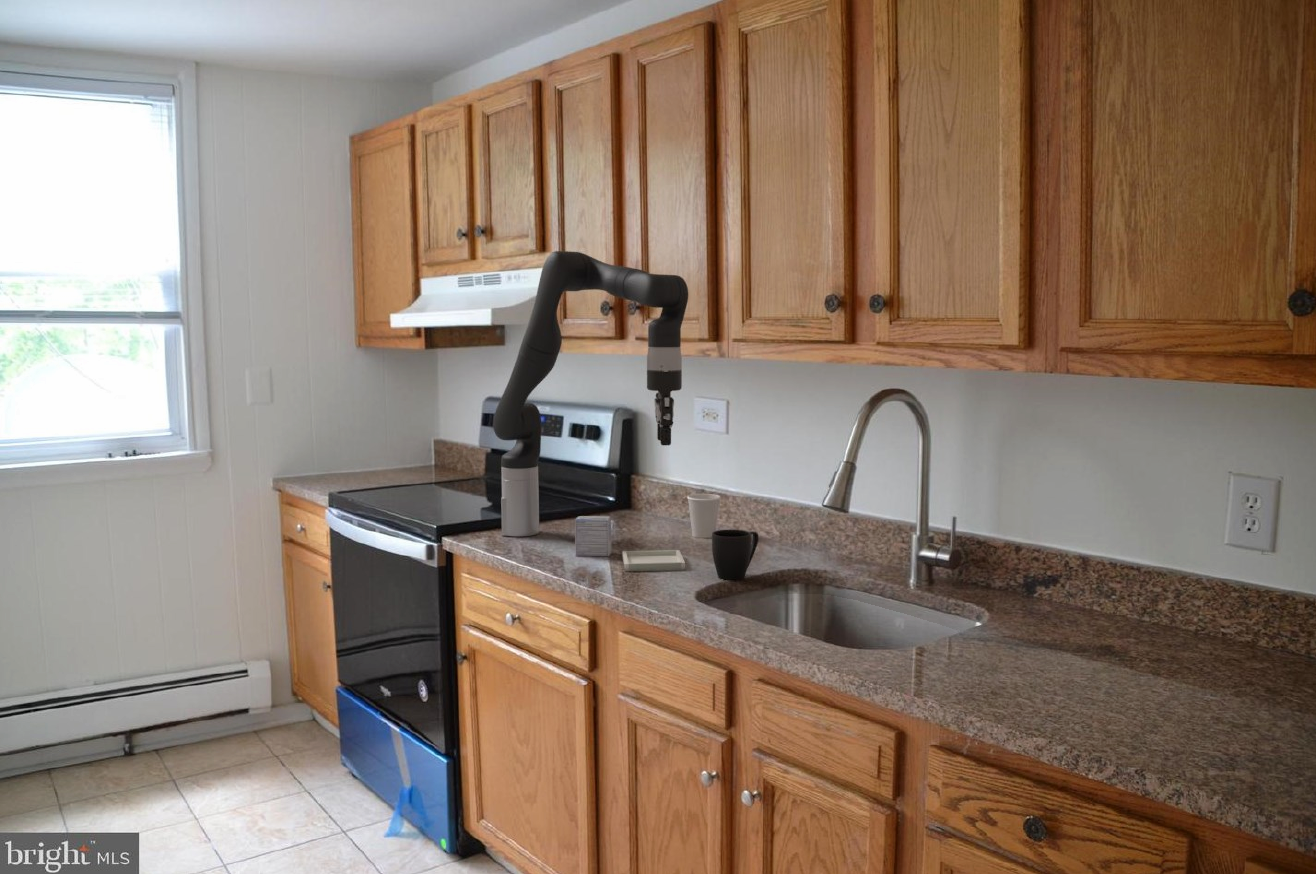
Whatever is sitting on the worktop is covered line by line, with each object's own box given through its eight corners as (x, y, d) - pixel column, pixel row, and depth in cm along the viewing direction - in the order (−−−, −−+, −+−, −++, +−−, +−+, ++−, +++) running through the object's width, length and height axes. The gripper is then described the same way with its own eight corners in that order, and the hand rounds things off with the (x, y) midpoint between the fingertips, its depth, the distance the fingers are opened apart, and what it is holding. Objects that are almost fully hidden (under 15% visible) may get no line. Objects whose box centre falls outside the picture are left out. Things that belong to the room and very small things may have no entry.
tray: (625, 571, 229) (625, 564, 229) (622, 558, 242) (622, 551, 242) (685, 570, 230) (685, 562, 230) (679, 556, 243) (679, 550, 243)
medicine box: (611, 552, 248) (611, 516, 247) (609, 557, 243) (608, 519, 242) (578, 552, 248) (577, 515, 247) (575, 556, 244) (574, 519, 243)
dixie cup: (710, 540, 261) (710, 500, 260) (681, 536, 265) (681, 497, 264) (726, 534, 268) (726, 495, 267) (697, 531, 272) (697, 492, 271)
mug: (771, 575, 225) (771, 531, 224) (731, 584, 217) (731, 538, 216) (743, 568, 231) (743, 525, 230) (703, 577, 223) (703, 532, 222)
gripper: (644, 366, 236) (644, 439, 237) (649, 369, 221) (649, 447, 223) (678, 366, 236) (678, 438, 238) (685, 369, 222) (684, 446, 224)
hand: (664, 442), depth 231 cm, fingers open, 8 cm apart
